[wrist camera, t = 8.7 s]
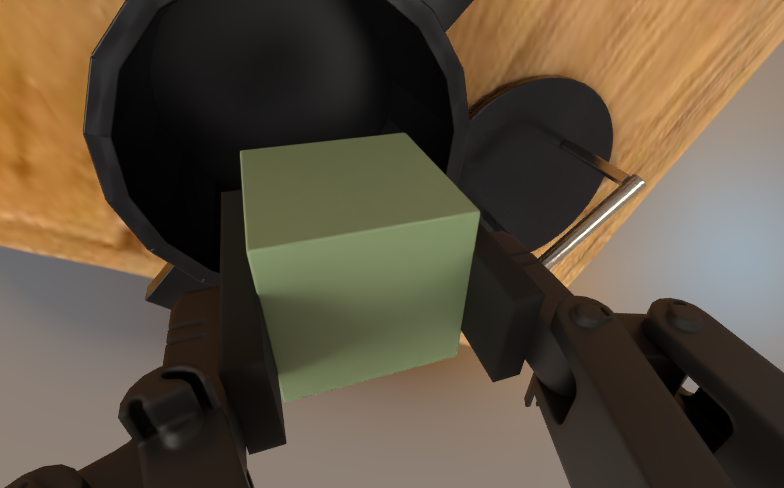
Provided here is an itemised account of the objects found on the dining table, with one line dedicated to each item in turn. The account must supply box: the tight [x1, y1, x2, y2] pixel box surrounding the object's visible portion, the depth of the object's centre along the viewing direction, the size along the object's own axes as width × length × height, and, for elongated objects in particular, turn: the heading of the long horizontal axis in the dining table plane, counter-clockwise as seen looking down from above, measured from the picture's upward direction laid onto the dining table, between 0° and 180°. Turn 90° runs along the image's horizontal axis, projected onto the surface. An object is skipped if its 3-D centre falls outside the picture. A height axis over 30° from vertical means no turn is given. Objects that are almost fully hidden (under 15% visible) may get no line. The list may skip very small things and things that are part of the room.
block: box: [240, 133, 480, 402], centre depth 12 cm, size 5×5×5 cm
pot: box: [83, 0, 473, 309], centre depth 20 cm, size 15×20×10 cm
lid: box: [456, 76, 646, 270], centre depth 30 cm, size 16×16×8 cm
